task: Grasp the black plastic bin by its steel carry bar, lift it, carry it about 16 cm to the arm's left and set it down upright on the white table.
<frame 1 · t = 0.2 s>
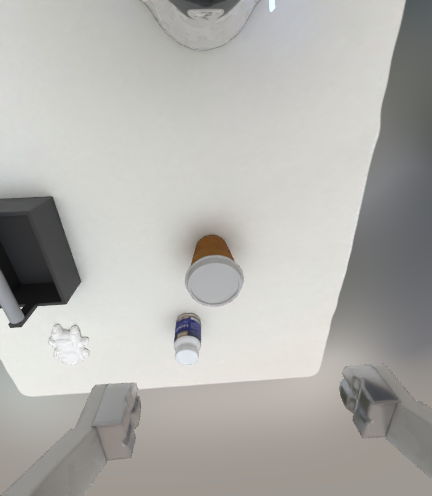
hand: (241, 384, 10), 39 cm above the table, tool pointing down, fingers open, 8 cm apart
disposable coffee cup: (211, 248, 52), on the table
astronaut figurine: (71, 341, 62), on the table
pill bottle: (188, 321, 61), on the table
black bin: (35, 244, 49), on the table
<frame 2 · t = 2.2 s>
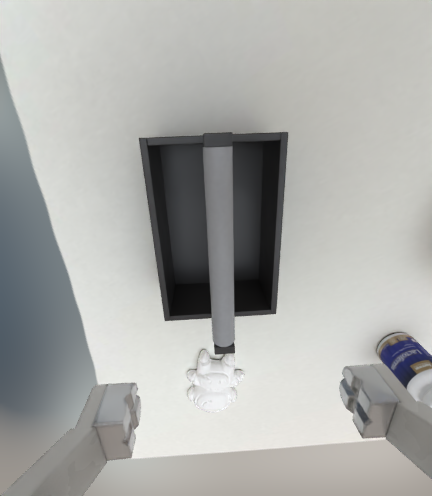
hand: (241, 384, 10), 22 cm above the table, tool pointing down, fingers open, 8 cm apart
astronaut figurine: (214, 376, 41), on the table
pill bottle: (392, 344, 41), on the table
black bin: (214, 218, 31), on the table
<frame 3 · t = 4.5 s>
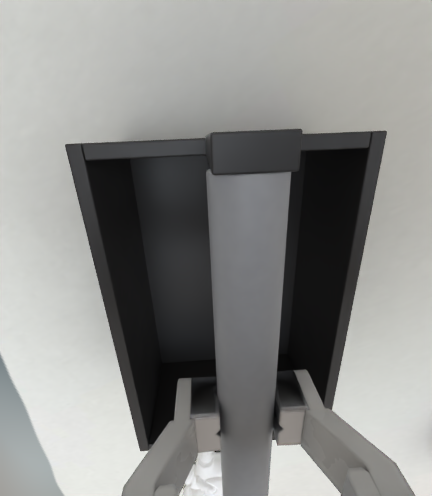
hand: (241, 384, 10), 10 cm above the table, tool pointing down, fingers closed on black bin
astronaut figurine: (219, 469, 30), on the table
black bin: (222, 267, 20), on the table, touching gripper
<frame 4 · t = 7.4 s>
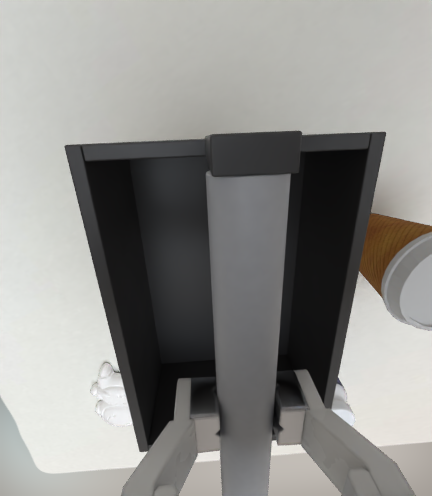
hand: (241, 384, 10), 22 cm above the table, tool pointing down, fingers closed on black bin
disposable coffee cup: (365, 237, 33), on the table
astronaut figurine: (123, 389, 40), on the table
pill bottle: (304, 356, 40), on the table
black bin: (221, 268, 20), point 12 cm above the table, touching gripper
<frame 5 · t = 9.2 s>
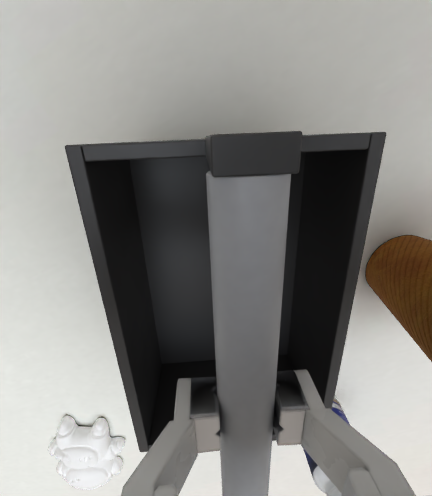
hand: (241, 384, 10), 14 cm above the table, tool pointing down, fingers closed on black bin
disposable coffee cup: (396, 264, 25), on the table
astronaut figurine: (91, 443, 33), on the table
pill bottle: (313, 404, 32), on the table
black bin: (221, 268, 20), point 4 cm above the table, touching gripper
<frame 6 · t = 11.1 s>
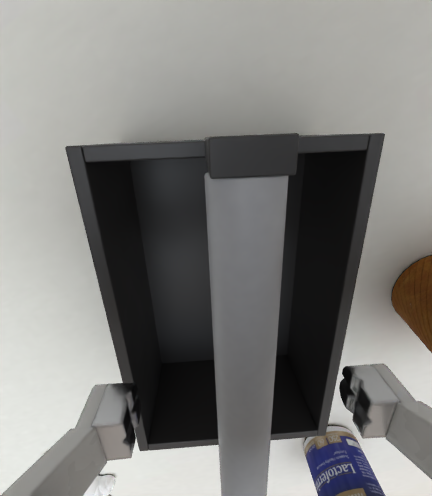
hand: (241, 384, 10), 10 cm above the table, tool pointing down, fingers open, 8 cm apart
disposable coffee cup: (427, 286, 22), on the table
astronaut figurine: (77, 481, 29), on the table
pill bottle: (326, 438, 29), on the table
black bin: (221, 268, 20), on the table
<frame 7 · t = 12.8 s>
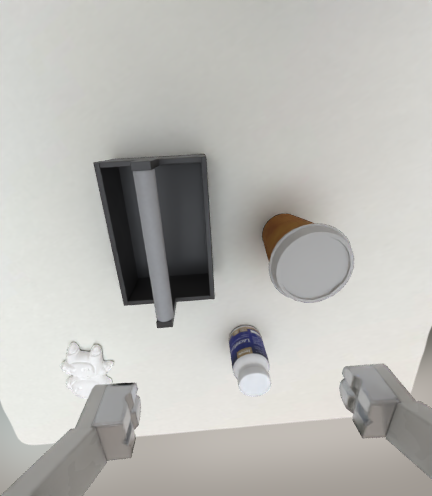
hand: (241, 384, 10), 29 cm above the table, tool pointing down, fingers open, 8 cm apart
disposable coffee cup: (282, 233, 40), on the table
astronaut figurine: (90, 366, 47), on the table
pill bottle: (244, 336, 46), on the table
black bin: (167, 222, 38), on the table
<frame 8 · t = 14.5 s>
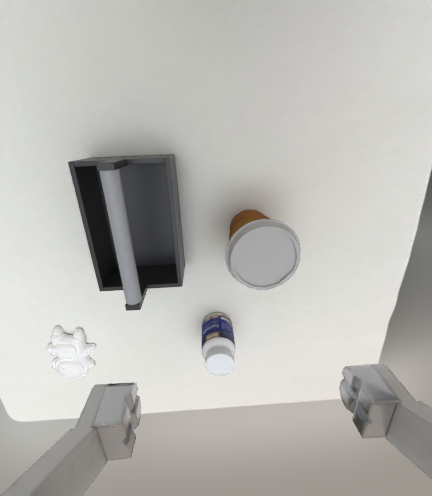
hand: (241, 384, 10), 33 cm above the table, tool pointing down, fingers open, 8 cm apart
disposable coffee cup: (248, 227, 43), on the table
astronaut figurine: (74, 349, 51), on the table
pill bottle: (216, 323, 50), on the table
black bin: (142, 216, 41), on the table
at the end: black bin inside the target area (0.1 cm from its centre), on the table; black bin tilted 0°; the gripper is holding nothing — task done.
